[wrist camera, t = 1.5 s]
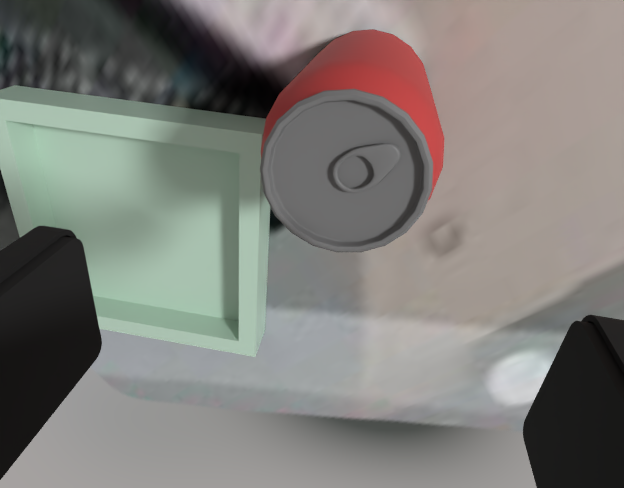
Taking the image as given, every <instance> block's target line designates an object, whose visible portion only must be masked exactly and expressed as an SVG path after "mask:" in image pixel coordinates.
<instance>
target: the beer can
mask: <svg viewBox="0 0 624 488" xmlns="http://www.w3.org/2000/svg"><path fill="white" fill-rule="evenodd" d="M443 153H444V136H443V132H442V128H441V125H440V121H439V118H438V114H437V111H436V107H435V103H434V100H433V96H432V93H431V89H430V86H429V82H428V79H427V75H426V72H425V69H424V65H423V63H422V62H421V60H420V59H419V57H418V56H417V55H416V53H415V52H414V50H413V49H412V48H411V46H409V45H408V44H406V43H405V42H403V41H402V40H400V39H399V38H398V37H396V36H395V35H392V34H389V33H385V32H381V31H377V30H374V29H373V30H361V31H352V32H350V33H347V34H345V35H343V36H341V37H338V38H336V39H334V40H333V41H331V42H330V43H329V44H328V45H327V46H326V47H325V48H324V49H323V50H322V51H321V52H320V53H318V54H317V55H316V57H315V58H314V59H313V60H312V61H311V62H310V63H309V64H308V65H307V66H306V67H305V68H304V69H303V70H302V71H301V72H300V73H299V74H298V75H297V76H296V77H295V78H294V79H293V80H292V81H291V82H290V83H289V84H288V85H287V86H286V87H285V88H284V89H283V90H282V92H281V93H280V94H279V95H278V97H277V99H276V101H275V103H274V105H273V106H272V108H271V110H270V112H269V114H268V116H267V118H266V121H265V127H264V133H263V139H262V145H261V165H260V173H261V179H262V185H263V192H264V195H265V197H266V199H267V201H268V203H269V205H270V207H271V209H272V211H273V213H274V215H275V216H276V217H277V218H278V219H279V220H280V221H281V222H282V223H283V224H284V225H285V226H286V228H287V229H288V230H289V231H290V232H291V233H293V234H294V235H296V236H298V237H299V238H301V239H303V240H304V241H306V242H308V243H309V244H311V245H313V246H316V247H320V248H323V249H327V250H331V251H334V252H364V251H367V250H371V249H375V248H378V247H382V246H385V245H387V244H388V243H390V242H392V241H393V240H395V239H396V238H398V237H400V236H401V235H403V234H404V233H406V232H407V231H408V230H409V229H410V227H411V226H412V225H413V224H414V223H415V222H416V220H417V219H418V218H419V217H420V216H421V215H422V213H423V211H424V209H425V206H426V204H427V202H428V200H429V199H430V197H431V195H432V192H433V190H434V187H435V185H436V182H437V180H438V177H439V175H440V172H441V170H442V167H443Z"/></svg>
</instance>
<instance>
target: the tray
mask: <svg viewBox="0 0 624 488" xmlns="http://www.w3.org/2000/svg"><path fill="white" fill-rule="evenodd" d="M265 121H266V119H265V118H257V117H250V116H242V115H235V114H227V113H220V112H212V111H205V110H197V109H189V108H182V107H174V106H167V105H159V104H152V103H144V102H137V101H129V100H122V99H114V98H106V97H99V96H91V95H84V94H76V93H69V92H61V91H54V90H46V89H39V88H31V87H23V86H16V85H15V86H12V87H8V88H5V89H2V90H0V170H1V173H2V177H3V180H4V184H5V187H6V191H7V194H8V198H9V201H10V205H11V208H12V212H13V216H14V219H15V223H16V226H17V230H18V233H19V237H22V236H23V235H25V234H26V233H28V232H29V231H31V230H32V229H34V228H35V227H37V226H49V227H55V228H62V229H68V230H71V231H72V232H73V233H74V234H75V235H76V238H77V239H79V240H81V242H82V244H83V247H84V252H85V257H86V262H87V267H88V273H89V278H90V283H91V288H92V293H93V298H94V304H95V309H96V314H97V319H98V324H99V329H104V330H109V331H115V332H121V333H126V334H132V335H137V336H143V337H148V338H154V339H159V340H165V341H170V342H176V343H181V344H187V345H192V346H198V347H203V348H209V349H214V350H220V351H225V352H231V353H236V354H242V355H247V356H253V357H255V356H256V353H257V351H258V348H259V345H260V343H261V340H262V337H263V334H264V332H265V318H266V294H267V271H268V247H269V224H270V205H269V203H268V201H267V199H266V197H265V195H264V192H263V185H262V179H261V173H260V165H261V145H262V139H263V133H264V127H265Z"/></svg>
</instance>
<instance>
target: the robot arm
mask: <svg viewBox="0 0 624 488" xmlns="http://www.w3.org/2000/svg"><path fill="white" fill-rule="evenodd" d="M101 345H102V341H101V335H100V330H99V324H98V319H97V314H96V309H95V304H94V298H93V293H92V288H91V283H90V278H89V273H88V267H87V262H86V257H85V252H84V247H83V244H82V242H81V240H79V239H77V238H76V235H75V234H74V233H73V232H72V231H71V230H68V229H62V228H55V227H49V226H37V227H35V228H34V229H32V230H31V231H29V232H28V233H26V234H25V235H23V236H22V237H20V238H19V239H17V240H16V241H15V242H13V243H12V244H10V245H9V246H7V247H6V248H4V249H3V250H1V251H0V480H1V478H2V477H3V475H5V473H6V472H7V471H8V470H9V468H10V467H11V466H12V464H13V463H14V462H15V461H16V460H17V458H18V457H19V456H20V454H21V453H22V452H23V451H24V449H25V448H26V447H27V446H28V444H29V443H30V442H31V441H32V439H33V438H34V437H35V436H36V434H37V433H38V432H39V431H40V429H41V428H42V427H43V425H44V424H45V423H46V422H47V420H48V419H49V418H50V417H51V415H52V414H53V413H54V412H55V410H56V409H57V408H58V407H59V405H60V404H61V403H62V401H63V400H64V399H65V398H66V397H67V395H68V394H69V393H70V391H71V390H72V389H73V388H74V386H75V385H76V384H77V383H78V381H79V380H80V379H81V378H82V376H83V375H84V374H85V372H86V371H87V370H88V369H89V368H90V366H91V365H92V364H93V362H94V361H95V360H96V359H97V357H98V355H99V353H100V350H101ZM523 437H524V442H525V445H526V449H527V453H528V456H529V460H530V464H531V468H532V471H533V475H534V479H535V482H536V486H537V488H624V320H619V319H613V318H607V317H601V316H595V315H588V316H586V317H585V318H583V320H582V321H575V322H574V323H572V325H571V326H570V328H569V330H568V332H567V334H566V336H565V338H564V340H563V342H562V344H561V346H560V349H559V351H558V353H557V355H556V357H555V359H554V361H553V363H552V365H551V367H550V369H549V371H548V373H547V375H546V377H545V379H544V382H543V384H542V386H541V388H540V390H539V392H538V394H537V396H536V398H535V400H534V402H533V404H532V406H531V408H530V410H529V412H528V415H527V417H526V419H525V422H524V426H523Z"/></svg>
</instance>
